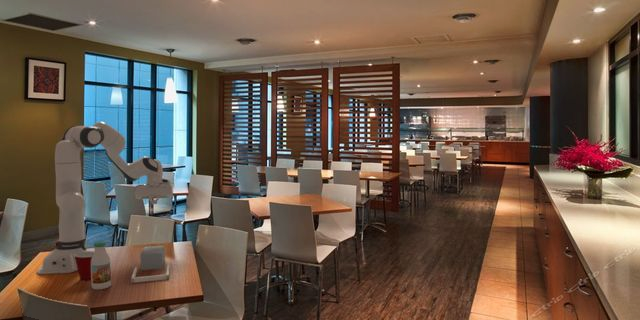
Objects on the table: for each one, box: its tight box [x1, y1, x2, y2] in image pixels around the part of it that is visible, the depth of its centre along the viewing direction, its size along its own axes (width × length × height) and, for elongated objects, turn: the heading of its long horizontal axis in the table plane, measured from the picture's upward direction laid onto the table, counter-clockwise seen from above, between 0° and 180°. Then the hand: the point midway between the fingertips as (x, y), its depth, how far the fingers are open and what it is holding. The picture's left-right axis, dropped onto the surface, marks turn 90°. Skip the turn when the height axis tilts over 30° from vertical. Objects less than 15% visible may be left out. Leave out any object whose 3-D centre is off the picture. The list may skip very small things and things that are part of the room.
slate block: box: [139, 245, 166, 271], centre depth 227 cm, size 10×14×8 cm
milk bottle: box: [90, 240, 112, 291], centre depth 196 cm, size 8×8×20 cm
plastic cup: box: [74, 250, 94, 281], centre depth 207 cm, size 11×11×12 cm
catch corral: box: [130, 263, 170, 284], centre depth 212 cm, size 16×17×2 cm
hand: (154, 203), depth 249 cm, fingers closed
